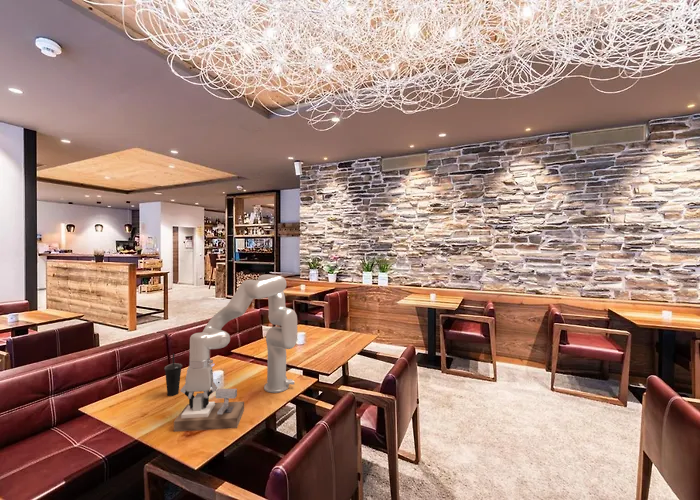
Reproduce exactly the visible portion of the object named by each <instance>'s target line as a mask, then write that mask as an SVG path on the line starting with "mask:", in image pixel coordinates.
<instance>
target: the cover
mask: <svg viewBox="0 0 700 500" xmlns="http://www.w3.org/2000/svg"><path fill="white" fill-rule="evenodd" d="M194 396H195V397H194V398H193V408H192V409H190V406H188V407H187V408H186V409H185V411H184V412H183V413H182V415H181V418H200V417H208V416H209V414H210V412H211V411H212V409H213V407H214V406H215V403H216V401H209V403H208V405H207V406H206V408H203V399H204V397H205V396H204V392H196V395H194Z"/></svg>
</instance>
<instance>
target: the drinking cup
mask: <svg viewBox="0 0 700 500" xmlns="http://www.w3.org/2000/svg"><path fill="white" fill-rule="evenodd" d="M182 368H183V364H182V363H179V362H177V363H176V362H175V353H172V363H170V364H168V365H166V366H164V371H165V373H164V374H165V381H166V382H165V384H166V385H165V386H166V394H167V396H168V397H173V396H176V395H178V394H179V392H180V383H181V374H182Z"/></svg>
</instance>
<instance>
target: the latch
mask: <svg viewBox="0 0 700 500" xmlns="http://www.w3.org/2000/svg"><path fill="white" fill-rule="evenodd" d="M237 397H238V388H217V390H216V391H215V399H223V402H224V404H223V405H222V407H221V408H220V409H219V410H218V412H217V414H223V413H224V411H225V410H227V409H228V408H229V402H230V401H229V400H230V399H236V398H237Z"/></svg>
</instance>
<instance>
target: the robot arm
mask: <svg viewBox="0 0 700 500" xmlns="http://www.w3.org/2000/svg"><path fill="white" fill-rule="evenodd" d="M286 288H287V280H286V278H285V277H284V276H281V275H274V274H269V273H268V274H262V275H260V276H258V277H257V279H245V280H244V281H242V283H241V284H240V285H239V286H238V288H237V290H236V291H235V293H234V295H232V297H231V299H230V300H229V302H228V303H227V305H226V306H224V307H223V308H222V309H220V310H219V311H218V312H217V313H215V314H214V315H213V316H212V317H211V318H210V319H209V321H208V322H207V324H206V325H205V326H204V329H203V330H202V332H195V333H193V334H191V335H190V337H189V365H188V367H187V370H186V375H185V384H184V385H183V386H182V387H181V389H179V392H180V393H182V394H184V395H185V396H186V397H187V399H188V404H189V406H190V409H192V408H193V398H194V397H195V396H196V395H194V394H195V393H201V392H202V393H204V396H205V397H204V399H203V408H206V406H207V405H208V403H209V402H210V396H211V395H212V394H213V393H214V392H216V390H217V389H218V386H217V385H216V384H215V382H214V376H213V373H214V372H213V367H212V365H211V364H213V363H214V359H211V357H210V351H211V350H219V349H222V348H225V347H227V346H228V344H229V343H230V341H231V336H230V333H228V332H227V331H225V330H222V328H224V326H225V325H226V324H228V322H230V321H232V320H234V319H236V318H239V317H242V316H243V315H244V314H245V313H246V312H247V309H248V308H249V306H250V305H251V303H252V302H253V300H254V299H257V300H262V299H266V298H267V300H268V320H269V322H270V324H272V325H274V326H271V327H270V328H268V329H267V331H266V334H265V342H266V346H267V347H266V348H267V368H266V369H267V371H266V375H267V377H266V378H267V379H266V382H267V383H265V384H264V385H263V390H264V391H265V392H266V393H271V394H274V393H275V394H276V393H283V392H285V391H287V390H288V389H289V388H290V385H293V386H294V385H295V380H293V378H292V379H291V378H290V379H288V377H287V350H291V349H293V348H294V347H295V346H296V345H297V340H298V315H297V313H296V311H295V310H294V309H292V308H288V307H286V296H285V292H284V291H285V290H286Z"/></svg>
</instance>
